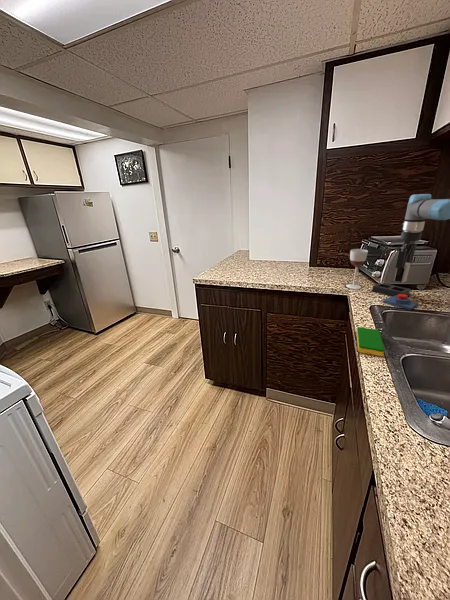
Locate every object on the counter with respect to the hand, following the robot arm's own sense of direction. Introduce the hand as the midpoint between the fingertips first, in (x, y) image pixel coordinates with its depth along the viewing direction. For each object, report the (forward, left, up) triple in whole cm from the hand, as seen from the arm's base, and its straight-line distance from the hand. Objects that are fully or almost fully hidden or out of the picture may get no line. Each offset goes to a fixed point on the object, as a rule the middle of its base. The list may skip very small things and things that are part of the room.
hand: (400, 280), depth 121 cm
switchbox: (-6, +11, -8) cm, 15 cm away
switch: (-6, +11, -5) cm, 14 cm away
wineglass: (+20, +4, -8) cm, 22 cm away
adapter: (+3, 0, -8) cm, 8 cm away
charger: (0, 0, 0) cm, 0 cm away
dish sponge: (-13, +54, -8) cm, 56 cm away
